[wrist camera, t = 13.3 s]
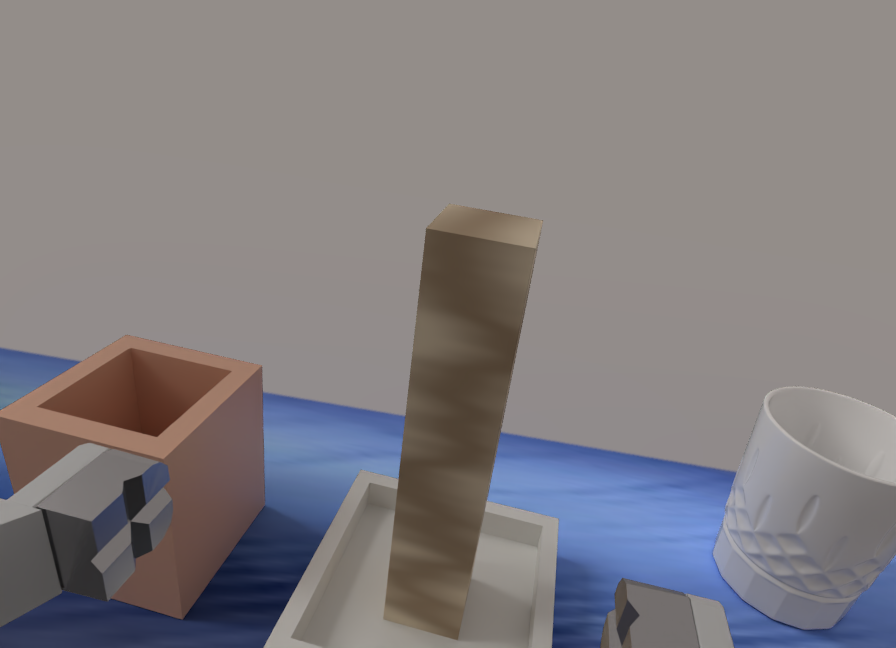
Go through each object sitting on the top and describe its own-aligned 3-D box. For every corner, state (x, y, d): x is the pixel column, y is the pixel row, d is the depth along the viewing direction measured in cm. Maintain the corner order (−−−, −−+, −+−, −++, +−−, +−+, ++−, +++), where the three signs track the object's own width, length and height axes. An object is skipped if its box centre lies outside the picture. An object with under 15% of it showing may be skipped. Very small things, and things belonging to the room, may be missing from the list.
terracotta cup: (36, 575, 26) (-8, 414, 23) (145, 473, 33) (126, 334, 29) (182, 619, 25) (163, 458, 22) (265, 504, 32) (261, 365, 28)
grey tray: (262, 690, 23) (261, 650, 22) (358, 503, 33) (360, 469, 32) (533, 774, 22) (546, 736, 21) (549, 552, 31) (558, 518, 30)
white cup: (748, 507, 37) (811, 374, 33) (882, 602, 31) (980, 457, 27) (672, 551, 33) (732, 405, 28) (811, 671, 27) (913, 511, 23)
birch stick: (383, 619, 26) (426, 228, 18) (404, 560, 29) (449, 203, 21) (457, 640, 25) (535, 248, 17) (471, 578, 28) (542, 220, 20)
